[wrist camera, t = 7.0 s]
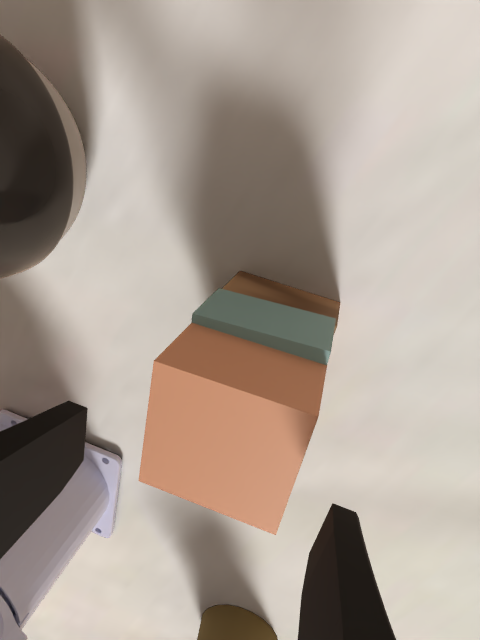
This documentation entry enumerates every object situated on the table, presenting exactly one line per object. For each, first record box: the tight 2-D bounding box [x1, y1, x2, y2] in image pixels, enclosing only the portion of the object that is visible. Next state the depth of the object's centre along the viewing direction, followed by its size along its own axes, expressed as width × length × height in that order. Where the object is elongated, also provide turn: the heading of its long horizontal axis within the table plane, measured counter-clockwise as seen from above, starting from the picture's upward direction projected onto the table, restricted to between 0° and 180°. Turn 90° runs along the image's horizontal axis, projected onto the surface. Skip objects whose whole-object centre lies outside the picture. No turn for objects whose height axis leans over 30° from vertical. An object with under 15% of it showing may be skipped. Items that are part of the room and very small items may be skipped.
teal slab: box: [192, 288, 336, 365], centre depth 16 cm, size 5×5×3 cm
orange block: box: [139, 323, 327, 535], centre depth 14 cm, size 5×5×3 cm
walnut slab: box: [222, 271, 340, 333], centre depth 19 cm, size 5×5×3 cm
